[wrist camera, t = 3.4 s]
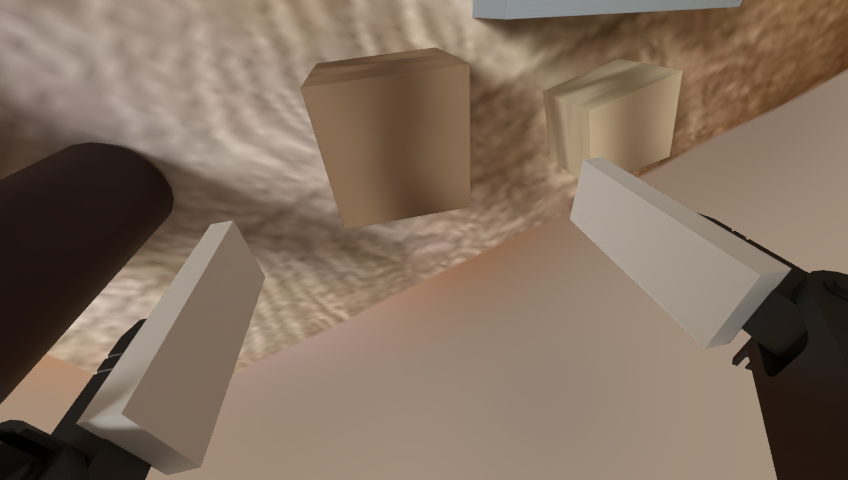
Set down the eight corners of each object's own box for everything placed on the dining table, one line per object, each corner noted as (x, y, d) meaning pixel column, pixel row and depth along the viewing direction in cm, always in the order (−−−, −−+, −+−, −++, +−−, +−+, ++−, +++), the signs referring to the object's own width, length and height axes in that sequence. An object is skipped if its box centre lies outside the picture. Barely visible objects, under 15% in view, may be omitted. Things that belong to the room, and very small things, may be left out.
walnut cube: (346, 174, 25) (344, 229, 19) (316, 63, 21) (300, 87, 14) (442, 158, 26) (470, 206, 20) (435, 47, 21) (469, 64, 15)
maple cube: (550, 158, 28) (590, 188, 23) (542, 91, 24) (589, 110, 20) (615, 131, 28) (669, 156, 23) (617, 58, 24) (682, 70, 19)
